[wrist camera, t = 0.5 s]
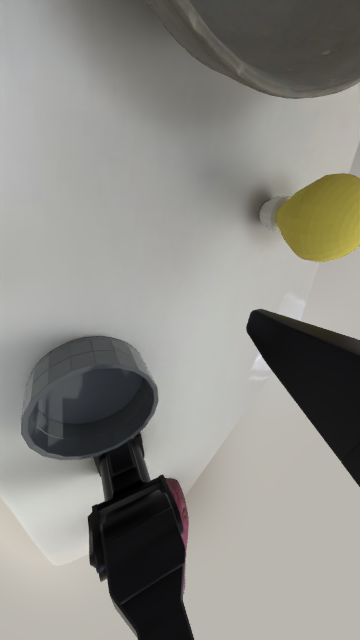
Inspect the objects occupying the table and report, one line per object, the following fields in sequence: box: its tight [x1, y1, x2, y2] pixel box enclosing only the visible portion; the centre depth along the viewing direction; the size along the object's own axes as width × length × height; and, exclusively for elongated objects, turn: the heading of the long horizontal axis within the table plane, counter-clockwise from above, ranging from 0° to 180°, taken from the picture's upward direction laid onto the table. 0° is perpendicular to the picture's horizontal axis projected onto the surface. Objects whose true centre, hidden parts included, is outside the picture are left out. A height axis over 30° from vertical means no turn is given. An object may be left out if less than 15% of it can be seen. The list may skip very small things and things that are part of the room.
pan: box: [21, 337, 158, 460], centre depth 24 cm, size 12×12×4 cm
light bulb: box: [260, 174, 360, 262], centre depth 21 cm, size 7×7×10 cm
